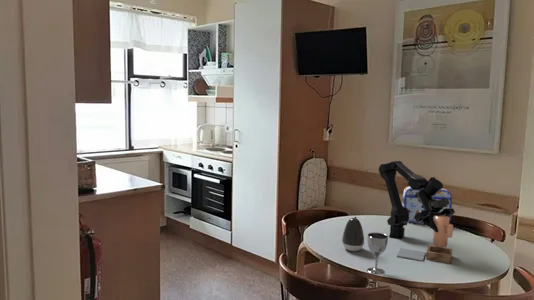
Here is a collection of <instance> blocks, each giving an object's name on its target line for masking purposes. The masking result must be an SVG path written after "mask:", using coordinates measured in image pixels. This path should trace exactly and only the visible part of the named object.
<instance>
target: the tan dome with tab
mask: <svg viewBox="0 0 534 300" xmlns="http://www.w3.org/2000/svg"><path fill="white" fill-rule="evenodd" d="M434 222H435V224H436V226H437V229H438V232H435V231H434V230H433V238H432V245H433V246H438V247H445V248H448V243H449V242H448V241H449V239H450V238H453V232H454V224H452V223H450V222H449V216H446V215H435V221H434Z"/></svg>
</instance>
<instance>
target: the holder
mask: <svg viewBox="0 0 534 300" xmlns="http://www.w3.org/2000/svg"><path fill="white" fill-rule="evenodd" d="M425 252H426V253H425V259H426V260H429V261H434V262H438V263H439V262H441V263H445V264H451V263H452V257H453V248H452V247H451V248H450V247H438V246H435V245H433V244H428V247H427V249H426V251H425Z"/></svg>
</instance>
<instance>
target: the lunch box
mask: <svg viewBox="0 0 534 300" xmlns="http://www.w3.org/2000/svg"><path fill="white" fill-rule="evenodd" d="M419 191H420V190H413V189H411V187H410V186H406V187H405V188H404V189H403V193H402V199H401V202H402V206H403V207H404V208H405V207H407V209H408V213H409V220H408V223H412V224H423V225H426V224H425V223H422V222H421V221H418V222H416V220H415V215H416V214H417V213H418V212H419V211H420V210H425V209H424V208H422V207H421V206H422V203H421V201H420V199H419V198H415V195H416V192H419ZM432 197H433V198H434V200H442V199H443V198H447V199H448V200H449V205H447V207H442V208H443V209H442V210H440V212H441V211H443V210H444V209H445V208H453V207H452V206H453V195H452V193H451V192H450V191H449V190H447V189H446V188H442V189H441V190H440V191H439V192H438V193H437V194H436V195H434V196H432ZM451 219H452V216H451V217H449V223H450V221H451ZM422 220H423V219H422ZM433 220H434V221H435V216H434V217H433Z"/></svg>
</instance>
